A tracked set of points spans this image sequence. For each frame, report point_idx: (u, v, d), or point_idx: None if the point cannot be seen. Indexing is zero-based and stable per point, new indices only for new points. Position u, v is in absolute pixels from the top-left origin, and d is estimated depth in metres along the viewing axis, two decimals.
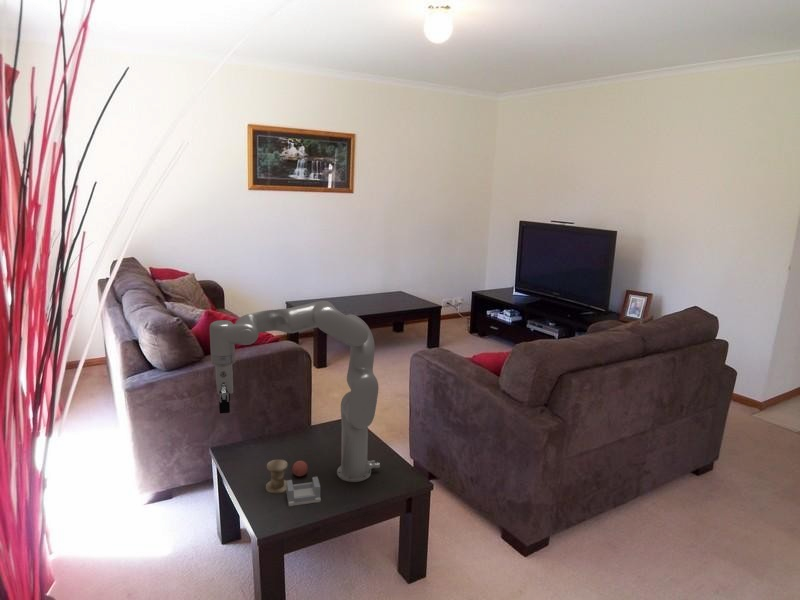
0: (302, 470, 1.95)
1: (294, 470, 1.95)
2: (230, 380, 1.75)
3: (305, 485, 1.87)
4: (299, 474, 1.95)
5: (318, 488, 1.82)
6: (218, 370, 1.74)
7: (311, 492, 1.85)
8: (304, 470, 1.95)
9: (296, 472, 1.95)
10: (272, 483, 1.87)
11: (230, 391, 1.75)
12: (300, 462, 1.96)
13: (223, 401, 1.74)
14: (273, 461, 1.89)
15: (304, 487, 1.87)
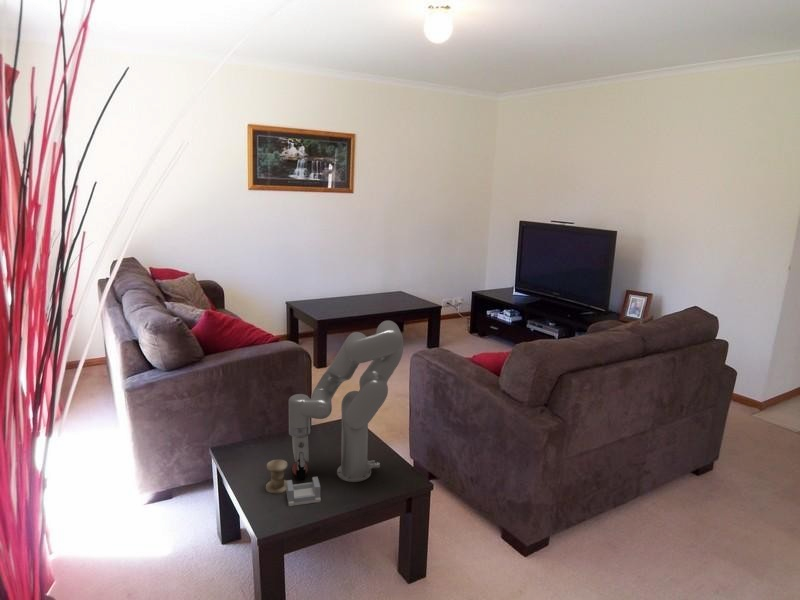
0: None
1: (294, 470, 1.95)
2: (307, 450, 1.91)
3: (305, 485, 1.87)
4: None
5: (318, 488, 1.82)
6: (296, 441, 1.90)
7: (311, 492, 1.85)
8: None
9: None
10: (272, 483, 1.87)
11: (307, 460, 1.92)
12: None
13: (300, 469, 1.92)
14: (273, 461, 1.89)
15: (304, 487, 1.87)
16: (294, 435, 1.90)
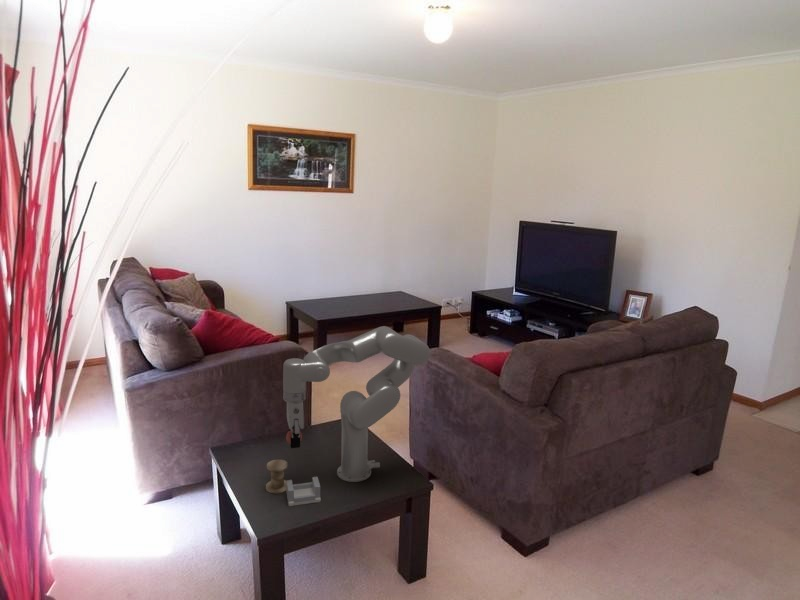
0: None
1: (288, 438, 1.86)
2: (302, 416, 1.83)
3: (305, 485, 1.87)
4: None
5: (318, 488, 1.82)
6: (291, 407, 1.81)
7: (311, 492, 1.85)
8: None
9: (290, 440, 1.86)
10: (272, 483, 1.87)
11: (302, 427, 1.83)
12: None
13: (295, 437, 1.84)
14: (273, 461, 1.89)
15: (304, 487, 1.87)
16: (289, 401, 1.82)
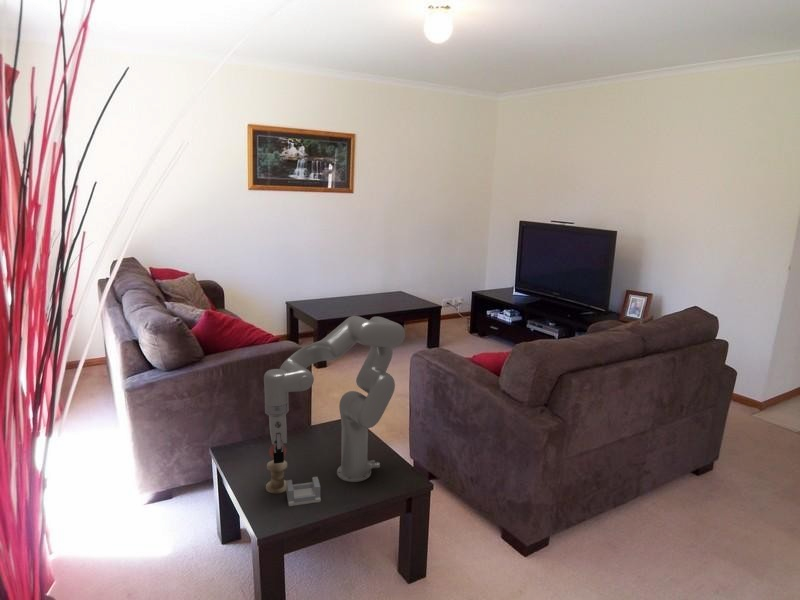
0: None
1: (271, 453, 1.77)
2: (285, 430, 1.73)
3: (305, 485, 1.87)
4: None
5: (318, 488, 1.82)
6: (273, 420, 1.72)
7: (311, 492, 1.85)
8: None
9: (273, 455, 1.76)
10: (272, 483, 1.87)
11: (285, 441, 1.74)
12: None
13: (278, 452, 1.74)
14: (273, 461, 1.89)
15: (304, 487, 1.87)
16: (270, 414, 1.72)
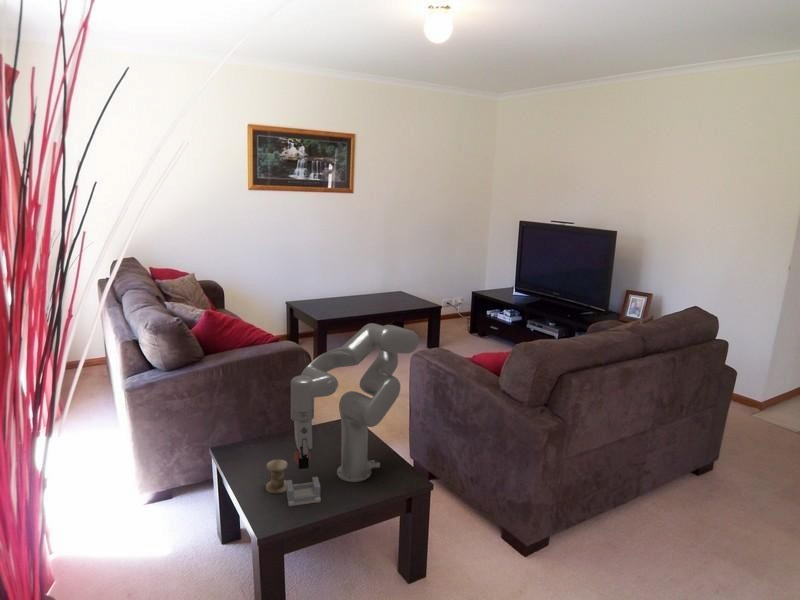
0: None
1: (296, 458, 1.79)
2: (310, 436, 1.75)
3: (305, 485, 1.87)
4: None
5: (318, 488, 1.82)
6: (299, 426, 1.74)
7: (311, 492, 1.85)
8: None
9: (298, 460, 1.78)
10: (272, 483, 1.87)
11: (310, 447, 1.76)
12: None
13: (303, 457, 1.76)
14: (273, 461, 1.89)
15: (304, 487, 1.87)
16: (296, 420, 1.74)
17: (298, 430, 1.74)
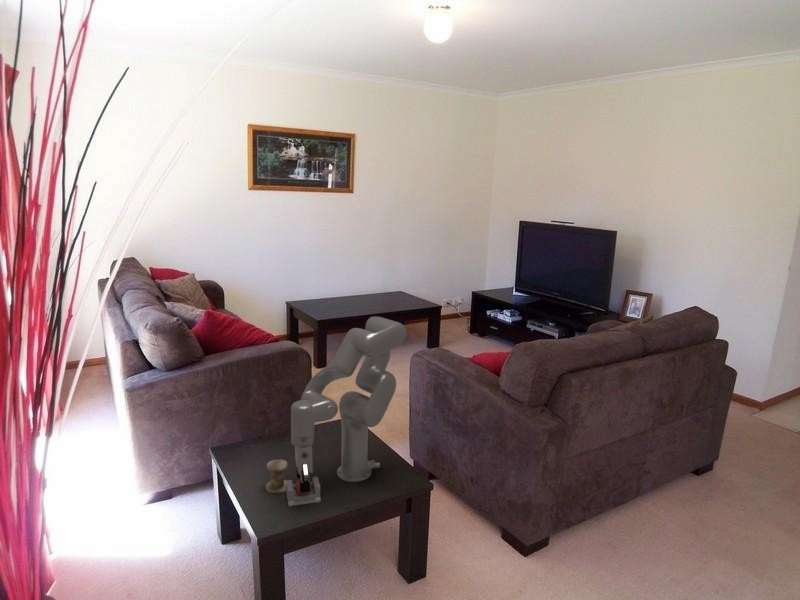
0: None
1: (297, 489, 1.81)
2: (311, 460, 1.77)
3: None
4: (302, 493, 1.81)
5: (318, 488, 1.82)
6: (300, 451, 1.76)
7: (311, 492, 1.85)
8: None
9: (299, 491, 1.81)
10: (272, 483, 1.87)
11: (311, 471, 1.78)
12: None
13: (304, 482, 1.76)
14: (273, 461, 1.89)
15: None
16: (297, 445, 1.76)
17: (299, 455, 1.76)
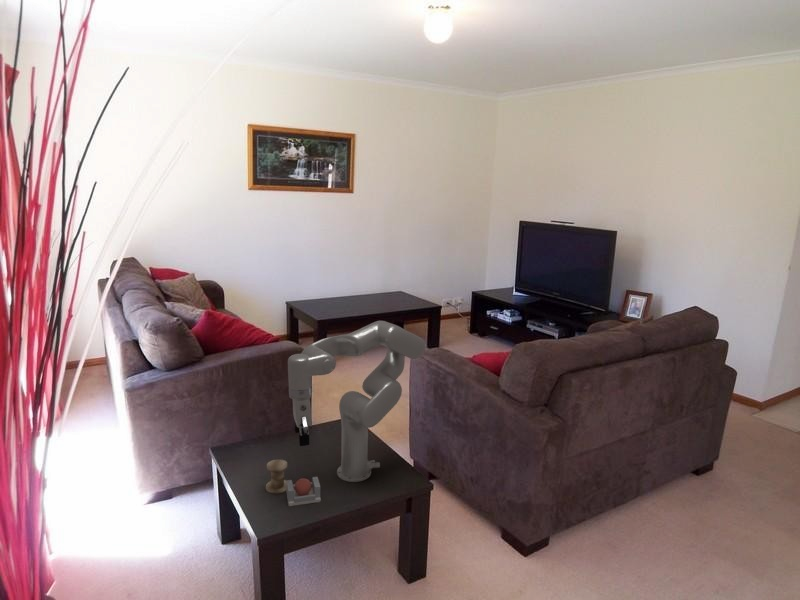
0: (305, 488, 1.81)
1: (297, 489, 1.81)
2: (310, 413, 1.77)
3: None
4: (302, 493, 1.81)
5: (318, 488, 1.82)
6: (298, 404, 1.75)
7: (311, 492, 1.85)
8: (307, 489, 1.82)
9: (299, 491, 1.81)
10: (272, 483, 1.87)
11: (310, 424, 1.77)
12: (303, 480, 1.82)
13: (304, 434, 1.76)
14: (273, 461, 1.89)
15: None
16: (295, 398, 1.76)
17: (297, 408, 1.75)
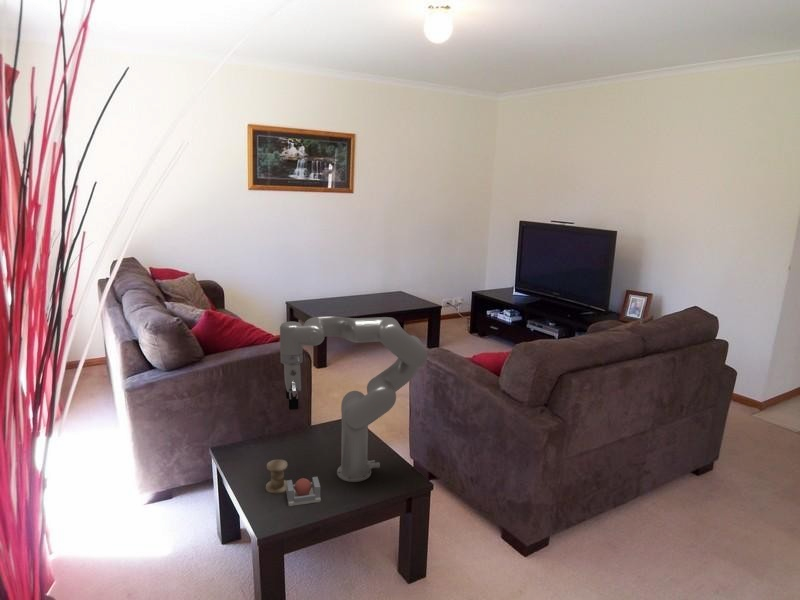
0: (305, 488, 1.81)
1: (296, 489, 1.81)
2: (299, 378, 1.85)
3: None
4: (302, 493, 1.81)
5: (318, 488, 1.82)
6: (288, 369, 1.83)
7: (311, 492, 1.85)
8: (307, 488, 1.82)
9: (299, 491, 1.81)
10: (272, 483, 1.87)
11: (299, 389, 1.85)
12: (303, 480, 1.82)
13: (293, 398, 1.84)
14: (273, 461, 1.89)
15: None
16: (286, 363, 1.84)
17: (287, 372, 1.83)
